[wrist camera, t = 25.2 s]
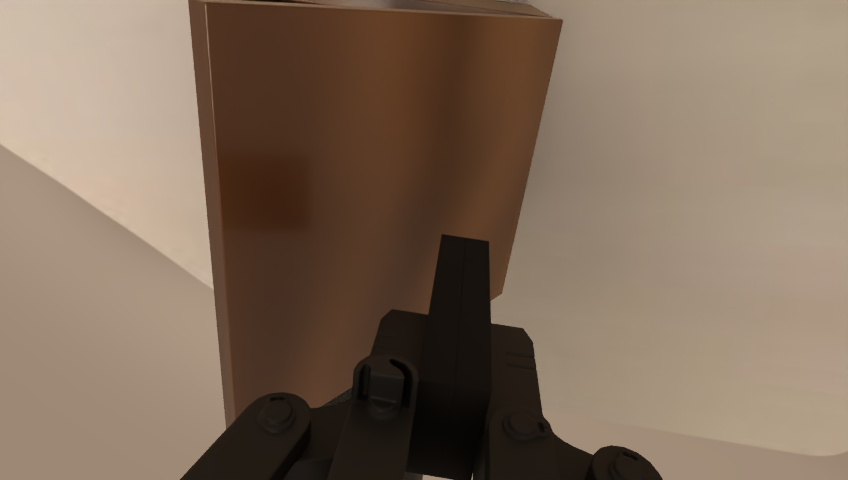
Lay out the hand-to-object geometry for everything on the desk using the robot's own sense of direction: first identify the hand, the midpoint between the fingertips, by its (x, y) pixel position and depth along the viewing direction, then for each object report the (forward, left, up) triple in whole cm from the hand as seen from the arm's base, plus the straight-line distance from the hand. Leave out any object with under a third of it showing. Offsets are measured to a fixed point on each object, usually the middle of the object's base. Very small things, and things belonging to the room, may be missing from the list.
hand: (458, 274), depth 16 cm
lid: (-2, +1, -5) cm, 5 cm away
